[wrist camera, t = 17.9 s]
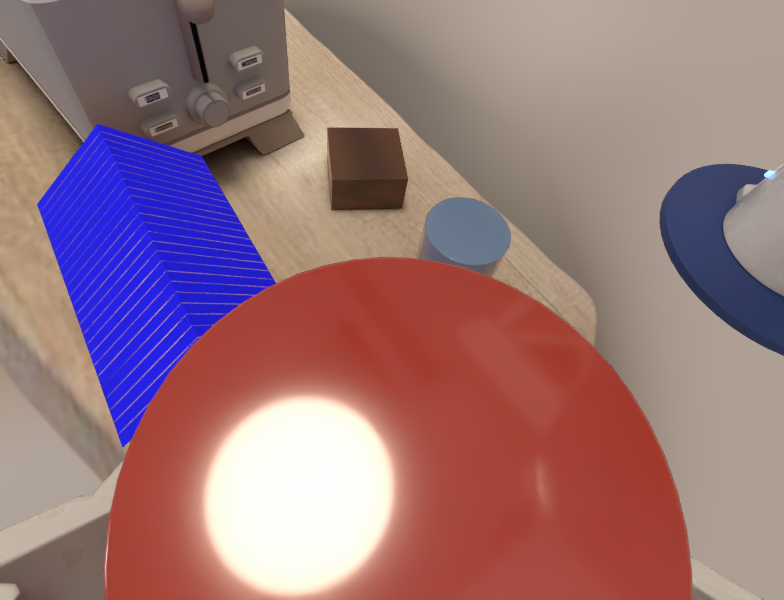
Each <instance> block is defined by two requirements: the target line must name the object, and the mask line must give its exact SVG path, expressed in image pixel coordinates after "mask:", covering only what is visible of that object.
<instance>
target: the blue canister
mask: <svg viewBox="0 0 784 600" xmlns="http://www.w3.org/2000/svg"><path fill="white" fill-rule="evenodd" d="M510 240H511V236H510V230H509V227H508V225H507V223H506V221H505V219H504V218H503V217H502V216H501V215H500V213H499V212H497V211H496V210H495V209H494V208H492V207H491V206H489V205H487V204H486V203H483V202H481V201H478V200H475V199H471V198H463V197H457V198H450V199H446V200H444V201H441V202H439V203H438V204H436V205H435V206H434V207H433V208H432V209H431V210H430V211H429V213H428V215H427V218H426V221H425V225H424V228H423V232H422V236H421V239H420V243H419V247H418V250H417V254H416V258H415V259H423V260H431V261H438V262H442V263H447V264H451V265H455V266H460V267H464V268H467V269H470V270H473V271H476V272H478V273H481V274H484V275H487V276H490V277H492V278H493V276H494V274H495V272H496V270H497V269H498V267H499V265H500V263H501V261H502V259H503V257H504V256H505V254H506V252H507V250H508V248H509V245H510Z"/></svg>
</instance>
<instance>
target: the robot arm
mask: <svg viewBox="0 0 784 600" xmlns="http://www.w3.org/2000/svg"><path fill="white" fill-rule="evenodd" d="M764 176H765V177H766V178H765V179H764V180H763V181H761V182H760V183H759V184H758V185H753V184H747V185H745V186H744V187H742V188H741V189H740V190H739V191H738V192H737V198H736V204H735V205H734V207H733V208H731V209H730V210H729V211H728V213H727V214H726V216H725V218H724V222H723V231H724V236H725V239H726V242H727V244H728V246H729V248H730V250H731V252H732V253H733V255H734V256H735V258H736V259H737V260H738V262H739V263H740V264H741V265H742V266H743V267H744V268H745V269H746V270H747V271H748V272H749V273H750V274H751V275H752V276H753V277H754V278H755V279H757V280H758V281H759V282H761V283H762V284H763V285H765V286H766V287H768V288H769V289H771V290H773V291H774V292H776V293H778V294H780V295H782V296H784V164H783V165H781V166H780V167H779V168H778V169H776V170H775V171H767V172H766V173H765V174H764ZM123 462H124V460H123V461H122V462H121V463H120V464H119V465H118V467H117V468H116V469H115V470H114V471H113V472H112V473H111V474H110V475H109V476H108V478H107V479H106V480H105V481H104V482H103V483H102V484H101V485H100V486H99V488H97V490H96V491H95V492H94V493H93V494H92V495H91V496H79V497H77V498H75V499H72V500H70V501H68V502H65V503H63V504H61V505H58V506H56V507H54V508H51V509H49V510H47V511H44V512H42V513H40V514H37V515H35V516H33V517H30V518H28V519H26V520H23V521H21V522H19V523H16V524H14V525H12V526H9V527H7V528H5V529H2V530H0V600H104V581H103V565H104V555H105V544H106V534H107V523H108V519H109V514H110V510H111V505H112V501H113V496H114V492H115V487H116V483H117V479H118V476H119V473H120V470H121V468H122V465H123ZM690 558H691V566H692V599H693V600H763V599H762V598H760V597H758V596H757V595H755V594H753V593H751V592H750V591H748V590H746V589H745V588H743V587H741V586H740V585H738V584H736V583H735V582H733V581H731V580H730V579H728V578H726V577H724V576H723V575H721V574H720V573H718V572H716V571H714V570H713V569H711V568H709V567H707V566H706V565H704V564H703V563H701V562H699V561H698V560H696V559H694V558H693V557H691V556H690Z"/></svg>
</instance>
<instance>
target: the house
mask: <svg viewBox="0 0 784 600" xmlns="http://www.w3.org/2000/svg"><path fill="white" fill-rule="evenodd" d="M37 205H38V208H39V211H40V213H41V216H42V219H43V222H44V225H45V228H46V230H47V233H48V236H49V239H50V242H51V245H52V248H53V250H54V253H55V256H56V259H57V262H58V265H59V267H60V270H61V273H62V276H63V279H64V282H65V285H66V287H67V290H68V293H69V296H70V299H71V302H72V305H73V307H74V310H75V313H76V316H77V319H78V322H79V324H80V327H81V330H82V333H83V336H84V339H85V342H86V344H87V347H88V350H89V353H90V356H91V359H92V361H93V364H94V367H95V370H96V373H97V376H98V379H99V381H100V384H101V387H102V390H103V393H104V396H105V399H106V401H107V404H108V407H109V410H110V413H111V416H112V418H113V421H114V424H115V427H116V430H117V433H118V436H119V438H120V441H121V444H122V447H124V446H125V445H126V444H127V443H128V442H129V441H130V442H131V439H132V437H133V435H134V433H135V431H136V429H137V427H138V425H139V423H140V421H141V419H142V417H143V415H144V413H145V411H146V409H147V407H148V405H149V403H150V402H151V400H152V399H153V397H154V396H155V394H156V393H157V391H158V389H159V388H160V386H161V385H162V383H163V382H164V380H165V379H166V377H167V376H168V374H169V373H170V371H171V370H172V369H173V368H174V367H175V365H176V364H177V363H178V362H179V361H180V359H181V358H182V357H183V356H184V355H185V353H186V352H187V351H188V350H189V349H190V347H191V346H192V345H193V344H194V343H195V342H196V341H197V340H198V339H199V338H200V337H201V336H202V335H204V334H205V333H206V332H207V331H208V330H209V329H210V328H211V327H212V326H213V325H214V324H215V323H216V322H217V321H219V320H220V319H221V318H223V317H224V316H225V315H227V314H228V313H229V312H231V311H232V310H233V309H235V308H236V307H237V306H239V305H240V304H241V303H243V302H244V301H246V300H247V299H249V298H251V297H253V296H254V295H256V294H258V293H259V292H261V291H263V290H264V289H266V288H268V287H270V286H272V285H274V284H276V282H275V281H274V279H273V277H272V276H271V274H270V272H269V270H268V269H267V267H266V265H265V264H264V262H263V260H262V258H261V257H260V255H259V253H258V252H257V250H256V248H255V246H254V245H253V243H252V241H251V240H250V238H249V236H248V234H247V233H246V231H245V229H244V228H243V226H242V224H241V223H240V221H239V219H238V217H237V216H236V214H235V212H234V211H233V209H232V207H231V205H230V204H229V202H228V200H227V199H226V197H225V195H224V193H223V192H222V190H221V188H220V187H219V185H218V183H217V181H216V180H215V178H214V176H213V175H212V173H211V171H210V169H209V168H208V166H207V164H206V163H205V161H204V159H203V158H202V156H200V155H197V154H194V153H191V152H187V151H184V150H181V149H178V148H174V147H171V146H168V145H165V144H161V143H158V142H155V141H152V140H148V139H145V138H142V137H139V136H135V135H132V134H129V133H126V132H122V131H119V130H116V129H113V128H109V127H106V126H103V125H100V124H97V125H96V127H95V128H94V129H93V131H92V132H91V133H90V135H89V136H88V137H87V139H86V140H85V141H84V143H83V144H82V145H81V147H80V148H79V149H78V151H77V152H76V153H75V155H74V156H73V157H72V159H71V160H70V161H69V163H68V164H67V165H66V167H65V168H64V169H63V171H62V172H61V173H60V175H59V176H58V177H57V179H56V180H55V181H54V183H53V184H52V185H51V187H50V188H49V189H48V191H47V192H46V193H45V195H44V196H43V197H42V199H41V200H40V201H39V203H38V204H37Z"/></svg>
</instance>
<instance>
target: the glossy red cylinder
mask: <svg viewBox="0 0 784 600" xmlns="http://www.w3.org/2000/svg"><path fill="white" fill-rule="evenodd" d="M103 581H104V600H693V599H692V566H691V558H690V551H689V544H688V535H687V528H686V524H685V520H684V516H683V512H682V508H681V504H680V500H679V495H678V491H677V489H676V486H675V483H674V480H673V477H672V474H671V471H670V468H669V466H668V463H667V460H666V457H665V455H664V453H663V450H662V448H661V446H660V444H659V442H658V440H657V438H656V436H655V434H654V432H653V429H652V427H651V425H650V423H649V421H648V420H647V418H646V416H645V415H644V413H643V411H642V410H641V408H640V406H639V405H638V403H637V401H636V400H635V398H634V396H633V395H632V393H631V392H630V391H629V389H628V388H627V386H626V385H625V384H624V382H623V381H622V380H621V379H620V377H619V376H618V374H617V373H616V372H615V370H614V369H613V368H612V366H611V365H610V364H609V363H608V362H607V361H606V360H605V359H604V358H603V357H602V356H601V354H600V353H599V352H598V351H597V350H596V349H595V348H594V347H593V346H592V344H591V343H590V342H589V341H588V340H586V339H585V338H584V337H583V336H582V335H581V334H580V333H579V332H578V331H576V330H575V329H574V328H573V327H572V326H571V325H570V324H569V323H568V322H566V321H565V320H564V319H562V318H561V317H560V316H558V315H557V314H555V313H554V312H553V311H551V310H550V309H549V308H547V307H546V306H545V305H543V304H542V303H540V302H538V301H537V300H535V299H533V298H532V297H530V296H528V295H527V294H525V293H523V292H521V291H520V290H518V289H516V288H514V287H512V286H510V285H508V284H505V283H503V282H501V281H499V280H497V279H495V278H492V277H490V276H487V275H484V274H481V273H478V272H476V271H473V270H470V269H467V268H464V267H460V266H455V265H451V264H447V263H442V262H438V261H431V260H423V259H415V258H397V257H378V258H367V259H355V260H349V261H344V262H339V263H334V264H329V265H324V266H321V267H318V268H315V269H312V270H309V271H306V272H302V273H299V274H296V275H294V276H292V277H290V278H287V279H285V280H283V281H281V282H279V283H276V284H274V285H272V286H270V287H268V288H266V289H264V290H263V291H261V292H259V293H258V294H256V295H254V296H253V297H251V298H249V299H247V300H246V301H244V302H243V303H241V304H240V305H239V306H237V307H236V308H235V309H233V310H232V311H231V312H229V313H228V314H227V315H225V316H224V317H223V318H221V319H220V320H219V321H217V322H216V323H215V324H214V325H213V326H212V327H211V328H210V329H209V330H208V331H207V332H206V333H205V334H204V335H202V336H201V337H200V338H199V339H198V340H197V341H196V342H195V343H194V344H193V345H192V346H191V347H190V349H189V350H188V351H187V352H186V353H185V355H184V356H183V357H182V358H181V359H180V361H179V362H178V363H177V364H176V365H175V367H174V368H173V369H172V370H171V371H170V373H169V374H168V376H167V377H166V379H165V380H164V382H163V383H162V385H161V386H160V388H159V389H158V391H157V393H156V394H155V396H154V397H153V399H152V400H151V402H150V403H149V405H148V407H147V409H146V411H145V413H144V415H143V417H142V419H141V421H140V423H139V425H138V427H137V429H136V431H135V433H134V435H133V437H132V439H131V442H130V445H129V448H128V451H127V453H126V456H125V459H124V462H123V465H122V468H121V470H120V473H119V476H118V479H117V483H116V487H115V492H114V496H113V501H112V505H111V510H110V514H109V519H108V523H107V534H106V544H105V555H104V565H103Z"/></svg>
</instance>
